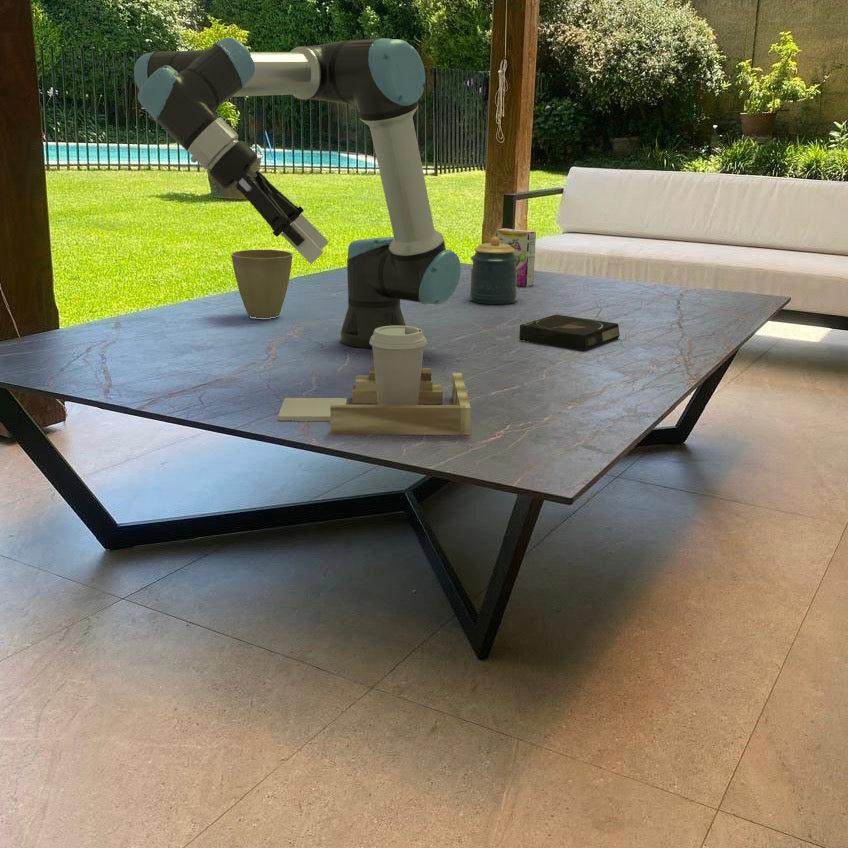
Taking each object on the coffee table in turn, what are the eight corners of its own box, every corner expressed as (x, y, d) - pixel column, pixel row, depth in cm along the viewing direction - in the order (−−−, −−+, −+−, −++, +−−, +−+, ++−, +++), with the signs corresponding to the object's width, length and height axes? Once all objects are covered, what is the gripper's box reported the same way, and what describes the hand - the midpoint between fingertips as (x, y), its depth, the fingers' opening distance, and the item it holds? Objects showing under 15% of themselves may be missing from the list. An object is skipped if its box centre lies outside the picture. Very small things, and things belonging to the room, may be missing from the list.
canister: (503, 307, 261) (505, 240, 256) (461, 301, 268) (462, 237, 262) (524, 299, 272) (527, 236, 266) (483, 295, 278) (485, 232, 273)
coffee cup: (413, 428, 160) (414, 338, 155) (360, 421, 163) (359, 333, 158) (434, 412, 168) (435, 327, 164) (383, 406, 171) (383, 322, 167)
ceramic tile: (285, 402, 173) (284, 397, 173) (346, 402, 173) (346, 398, 173) (278, 420, 163) (277, 416, 162) (344, 421, 163) (343, 416, 163)
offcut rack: (338, 396, 177) (337, 372, 176) (460, 396, 178) (461, 373, 176) (330, 434, 156) (330, 407, 155) (470, 434, 157) (470, 408, 155)
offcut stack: (353, 396, 177) (353, 367, 176) (441, 396, 178) (441, 367, 176) (352, 403, 173) (352, 373, 171) (442, 403, 173) (442, 374, 172)
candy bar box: (493, 284, 297) (495, 229, 292) (501, 281, 301) (503, 228, 296) (526, 287, 291) (529, 232, 286) (534, 285, 295) (536, 230, 290)
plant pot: (229, 323, 237) (226, 257, 232) (238, 311, 251) (236, 249, 246) (291, 323, 237) (289, 258, 232) (296, 311, 251) (295, 249, 246)
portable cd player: (585, 353, 214) (586, 335, 212) (519, 342, 223) (520, 325, 222) (619, 340, 226) (620, 324, 225) (555, 330, 236) (556, 314, 235)
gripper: (221, 168, 166) (310, 258, 171) (192, 176, 142) (297, 280, 147) (251, 136, 165) (340, 228, 170) (227, 139, 141) (332, 245, 146)
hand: (320, 252), depth 158 cm, fingers open, 13 cm apart
